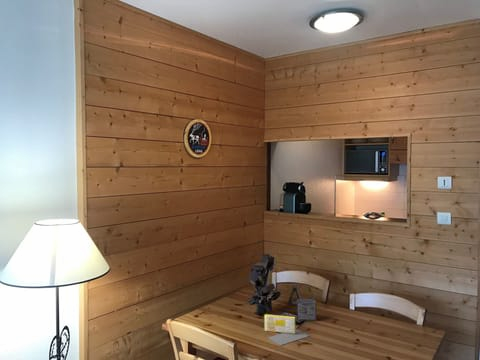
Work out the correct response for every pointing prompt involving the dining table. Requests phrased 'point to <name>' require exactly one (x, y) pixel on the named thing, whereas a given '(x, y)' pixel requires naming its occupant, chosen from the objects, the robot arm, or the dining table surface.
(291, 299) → the phone stand
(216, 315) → the dining table surface
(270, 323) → the candy box
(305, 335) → the placemat
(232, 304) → the dining table surface
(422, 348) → the dining table surface
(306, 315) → the small box
